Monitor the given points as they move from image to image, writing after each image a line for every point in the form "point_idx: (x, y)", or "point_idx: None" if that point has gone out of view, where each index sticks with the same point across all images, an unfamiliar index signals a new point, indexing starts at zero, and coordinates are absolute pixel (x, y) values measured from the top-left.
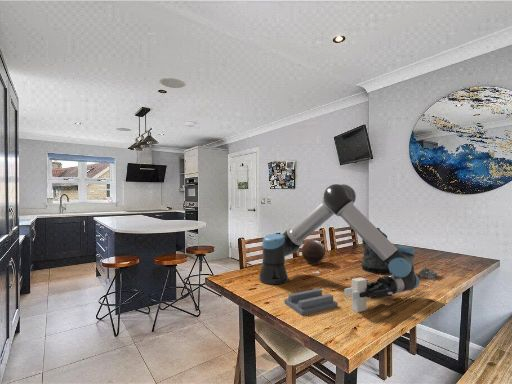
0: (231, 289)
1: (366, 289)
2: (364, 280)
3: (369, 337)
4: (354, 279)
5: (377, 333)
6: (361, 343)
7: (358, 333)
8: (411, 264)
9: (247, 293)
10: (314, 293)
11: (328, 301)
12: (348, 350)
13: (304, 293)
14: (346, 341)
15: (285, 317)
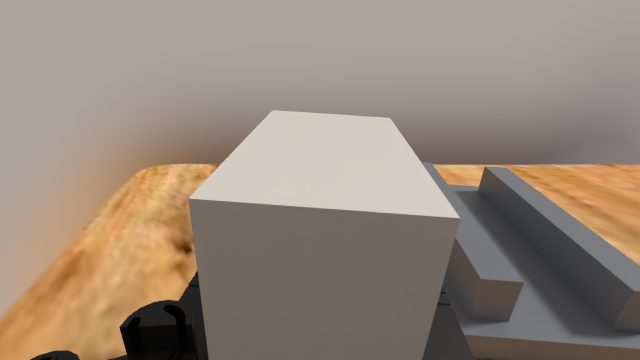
0: (631, 168)
1: (178, 310)
2: (225, 173)
3: (99, 237)
4: (360, 123)
5: (57, 279)
6: (124, 203)
7: (154, 230)
8: None
9: (600, 177)
10: (567, 251)
11: (454, 276)
12: (153, 174)
13: (525, 199)
14: (175, 189)
15: None
